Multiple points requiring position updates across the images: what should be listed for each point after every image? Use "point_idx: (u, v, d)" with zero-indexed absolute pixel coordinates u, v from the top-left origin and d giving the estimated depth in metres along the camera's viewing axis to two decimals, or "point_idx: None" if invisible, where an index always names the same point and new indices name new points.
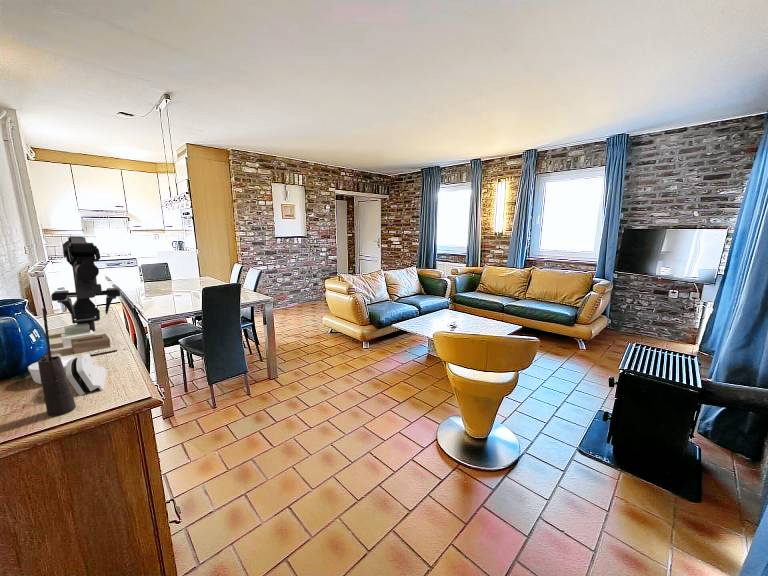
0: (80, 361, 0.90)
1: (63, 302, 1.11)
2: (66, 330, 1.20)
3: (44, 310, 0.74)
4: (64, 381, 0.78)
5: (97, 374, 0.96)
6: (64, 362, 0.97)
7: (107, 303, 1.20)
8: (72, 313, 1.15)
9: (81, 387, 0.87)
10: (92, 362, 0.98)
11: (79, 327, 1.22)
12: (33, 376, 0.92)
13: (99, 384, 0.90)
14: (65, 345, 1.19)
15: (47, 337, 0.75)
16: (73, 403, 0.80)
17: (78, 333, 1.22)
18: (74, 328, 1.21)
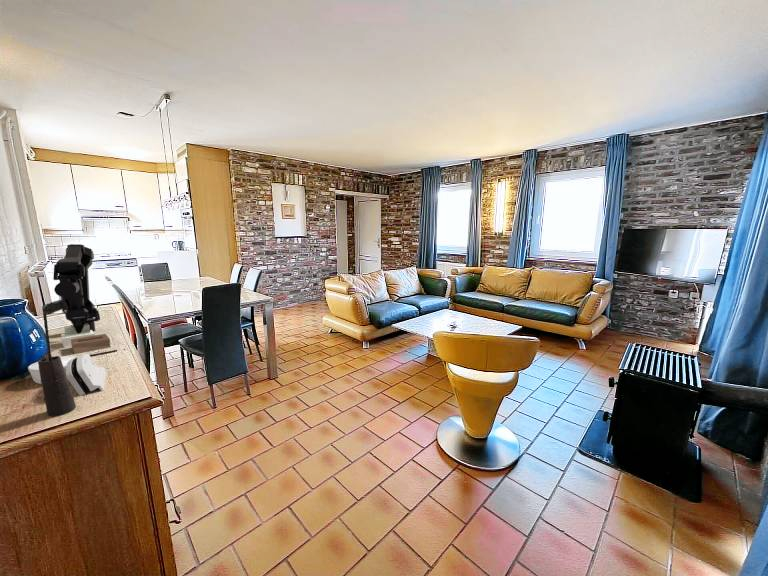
0: (80, 361, 0.90)
1: (64, 313, 1.25)
2: (66, 330, 1.20)
3: (44, 310, 0.74)
4: (64, 381, 0.78)
5: (97, 374, 0.96)
6: (64, 362, 0.97)
7: (72, 323, 1.18)
8: None
9: (81, 387, 0.87)
10: (92, 362, 0.98)
11: None
12: (33, 376, 0.92)
13: (99, 384, 0.90)
14: (65, 345, 1.19)
15: (47, 337, 0.75)
16: (73, 403, 0.80)
17: (78, 333, 1.22)
18: (74, 328, 1.21)
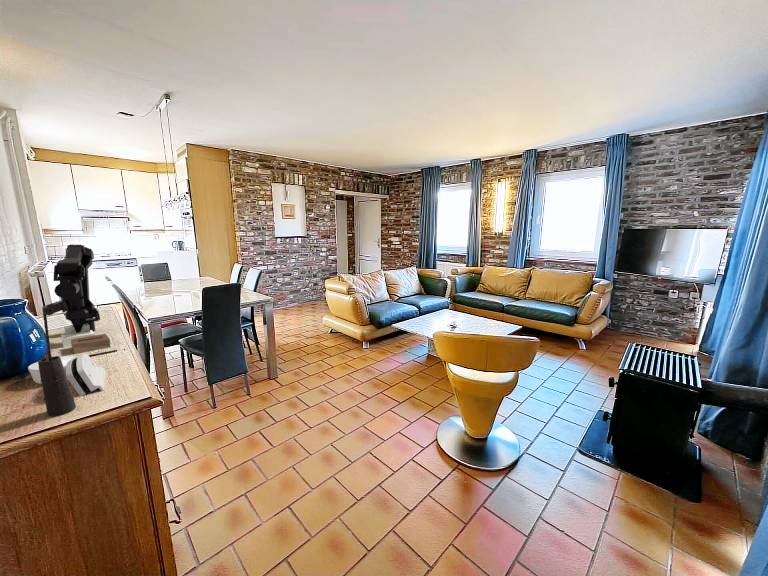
0: (80, 361, 0.90)
1: (65, 315, 1.23)
2: (66, 330, 1.20)
3: (44, 310, 0.74)
4: (64, 381, 0.78)
5: (97, 374, 0.96)
6: (64, 362, 0.97)
7: (72, 322, 1.20)
8: None
9: (82, 387, 0.87)
10: (91, 362, 0.97)
11: None
12: (33, 376, 0.92)
13: (99, 384, 0.90)
14: (65, 345, 1.19)
15: (47, 337, 0.75)
16: (73, 403, 0.80)
17: (78, 333, 1.22)
18: None
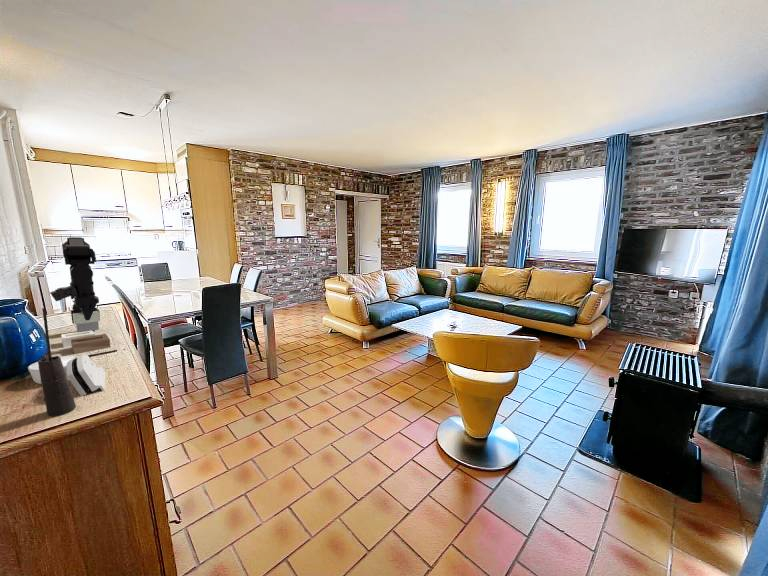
0: (80, 362, 0.90)
1: (74, 302, 1.17)
2: (75, 317, 1.13)
3: (44, 310, 0.74)
4: (64, 381, 0.78)
5: (97, 374, 0.95)
6: (64, 362, 0.97)
7: (81, 309, 1.14)
8: None
9: (83, 387, 0.87)
10: (91, 363, 0.97)
11: None
12: (33, 376, 0.92)
13: (100, 384, 0.90)
14: (65, 345, 1.19)
15: (47, 337, 0.75)
16: (73, 403, 0.80)
17: (87, 320, 1.16)
18: (83, 315, 1.15)
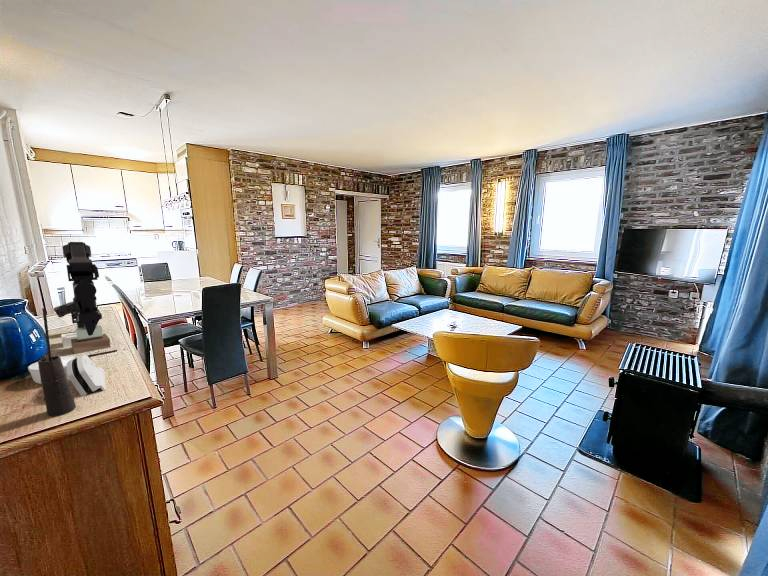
0: (81, 362, 0.90)
1: (76, 317, 1.18)
2: (78, 332, 1.14)
3: (44, 310, 0.74)
4: (64, 381, 0.78)
5: (97, 375, 0.95)
6: (64, 362, 0.97)
7: (84, 324, 1.15)
8: None
9: (83, 387, 0.87)
10: (91, 363, 0.97)
11: None
12: (33, 376, 0.92)
13: (101, 384, 0.90)
14: (65, 345, 1.19)
15: (47, 337, 0.75)
16: (73, 403, 0.80)
17: (90, 335, 1.17)
18: None
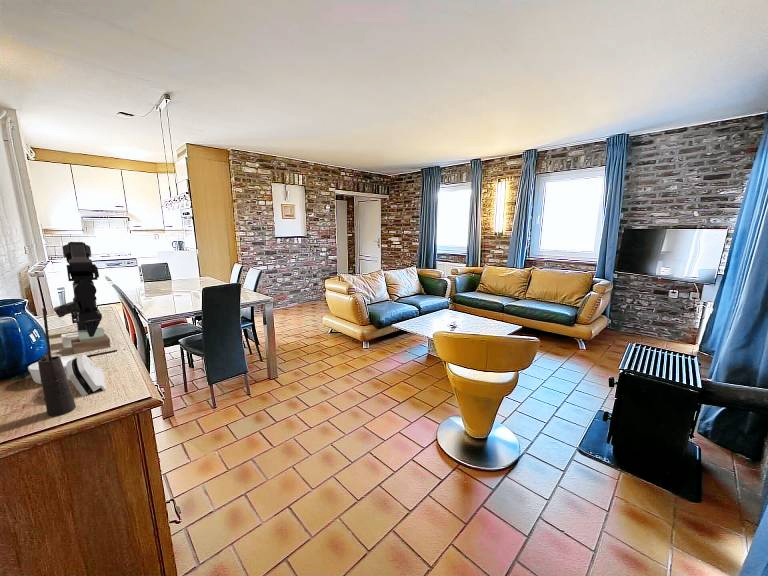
0: (81, 362, 0.89)
1: (76, 315, 1.19)
2: (80, 335, 1.15)
3: (44, 310, 0.74)
4: (64, 381, 0.78)
5: (96, 375, 0.95)
6: (64, 362, 0.97)
7: (85, 326, 1.13)
8: (84, 327, 1.20)
9: (84, 388, 0.87)
10: (90, 363, 0.97)
11: None
12: (33, 376, 0.92)
13: (101, 384, 0.90)
14: (65, 345, 1.19)
15: (47, 337, 0.75)
16: (73, 403, 0.80)
17: (92, 338, 1.18)
18: None
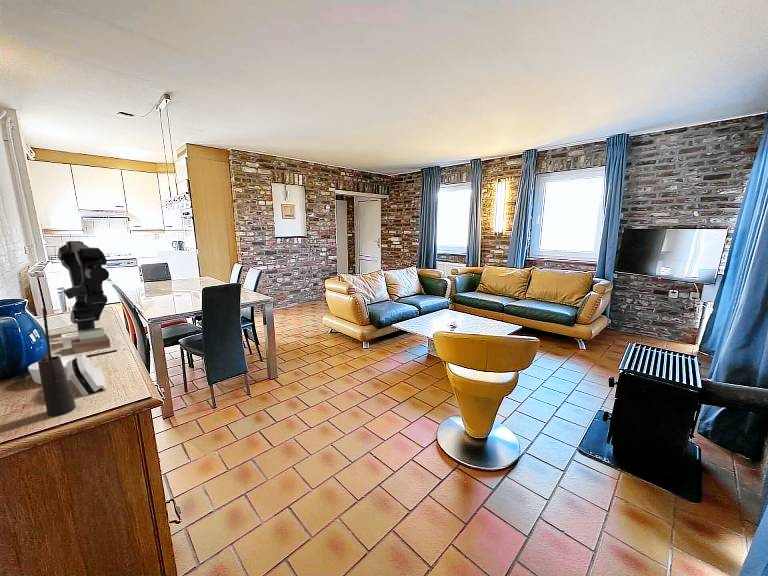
0: (81, 362, 0.89)
1: None
2: (80, 335, 1.15)
3: (44, 310, 0.74)
4: (64, 381, 0.78)
5: (96, 375, 0.95)
6: (64, 362, 0.97)
7: (92, 307, 1.22)
8: (91, 309, 1.30)
9: (85, 388, 0.87)
10: (89, 363, 0.97)
11: (93, 331, 1.18)
12: (33, 376, 0.92)
13: (102, 384, 0.90)
14: (65, 345, 1.19)
15: (47, 337, 0.75)
16: (73, 403, 0.80)
17: (92, 338, 1.18)
18: (88, 332, 1.17)
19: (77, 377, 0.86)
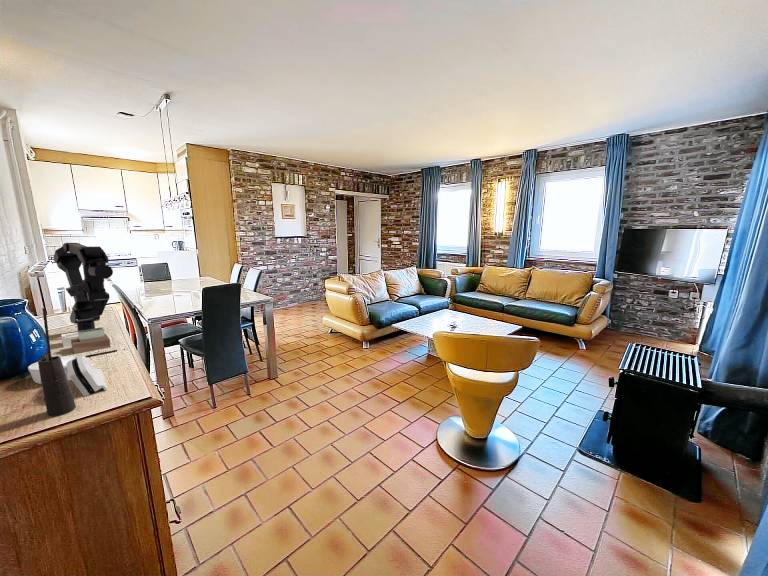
0: (81, 362, 0.89)
1: (85, 296, 1.31)
2: (80, 335, 1.15)
3: (44, 310, 0.74)
4: (64, 381, 0.78)
5: (96, 375, 0.95)
6: (64, 362, 0.97)
7: (94, 305, 1.25)
8: (93, 307, 1.32)
9: (85, 388, 0.87)
10: (89, 364, 0.97)
11: (93, 331, 1.18)
12: (33, 376, 0.92)
13: (103, 384, 0.90)
14: (65, 345, 1.19)
15: (47, 337, 0.75)
16: (73, 403, 0.80)
17: (92, 338, 1.18)
18: (88, 332, 1.17)
19: (78, 377, 0.86)
